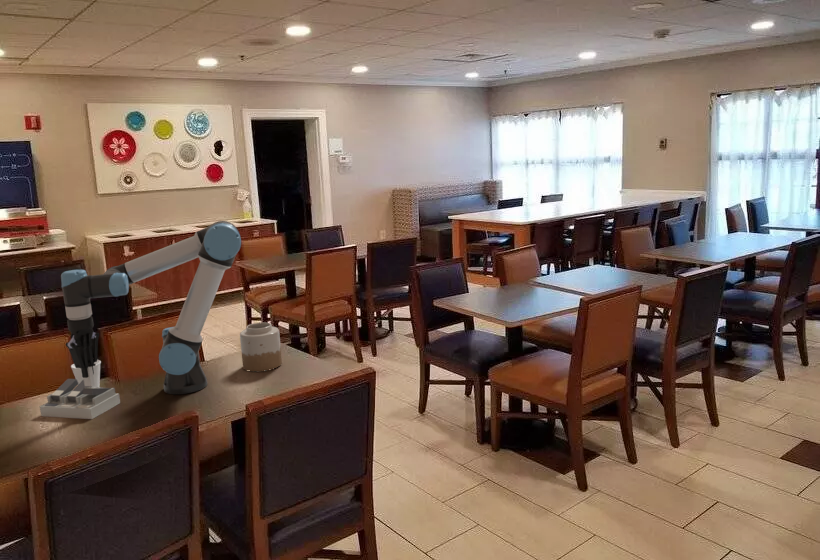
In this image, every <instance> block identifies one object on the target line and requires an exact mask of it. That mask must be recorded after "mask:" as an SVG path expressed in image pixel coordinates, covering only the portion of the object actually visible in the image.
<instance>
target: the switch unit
mask: <svg viewBox="0 0 820 560" xmlns="http://www.w3.org/2000/svg"><path fill="white" fill-rule="evenodd" d="M96 388H103V387H101V386H99V387H96ZM110 388H111V389H109V390H107V391H106V392H104V393H102V394H96V395H89V394H82V395H80V396H78V397H76V402H74V401H69V400H68V398H67V396H68V395H69V394H70V393H71V392H72V391H73V390H74V389H73V390H72V391H70V392H68V393H66V394H64V395H62V396H60V397H59V398H60V401H55V400H53V399H52V398H51V395H52V394H53V393H50V394H48V395H47V396H46V399H47V402H45V403H44V404H42V405H40V406H39V411H40V416H41V417H50V418H51V417H52V418H67V419H68V418H69V419H83V420H84V419H85V420H93V419H94V418H97V417H98V416H100V415H102V414H104V413H105V412H107V411H109V410H111V409H112V408H114V407H116V406H117V405H119V404H121V398H120V393H116V389H115V387H110Z"/></svg>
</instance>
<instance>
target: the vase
mask: <svg viewBox="0 0 820 560" xmlns="http://www.w3.org/2000/svg"><path fill="white" fill-rule="evenodd" d="M239 341H240V352H241V360H242V368H243V370H244V369H246V370H250V371H264V370H269V369H273V368H276V367H278V366H280V365H281V364H283V359H282V358H283V357H282V348H281V337H280V330H279V328H278V327H276V326H272V323H269V322H255V323H250V324H248V325H246V328H245V329H242V330H241V331H240V333H239ZM281 366H282V365H281ZM281 366H280V367H281ZM278 368H279V367H278ZM276 369H277V368H276ZM246 370H245V371H246ZM273 370H274V369H273ZM250 371H249V372H250ZM269 371H270V370H269ZM264 372H265V371H264Z"/></svg>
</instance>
